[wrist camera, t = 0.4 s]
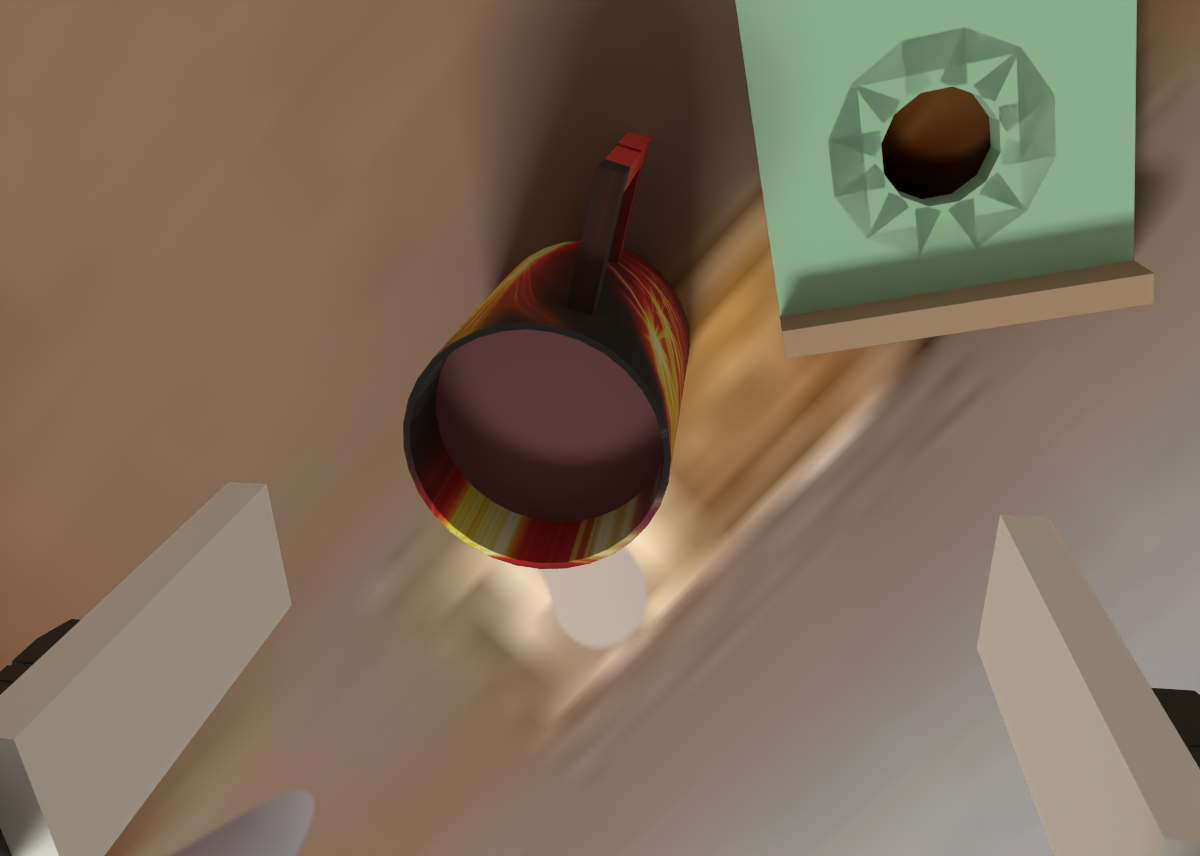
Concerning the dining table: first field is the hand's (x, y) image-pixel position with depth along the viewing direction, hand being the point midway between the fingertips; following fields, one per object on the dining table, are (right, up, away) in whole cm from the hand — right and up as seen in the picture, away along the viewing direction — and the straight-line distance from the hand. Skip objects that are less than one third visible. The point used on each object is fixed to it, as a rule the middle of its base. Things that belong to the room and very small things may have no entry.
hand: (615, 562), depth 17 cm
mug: (-1, +8, +26) cm, 27 cm away
